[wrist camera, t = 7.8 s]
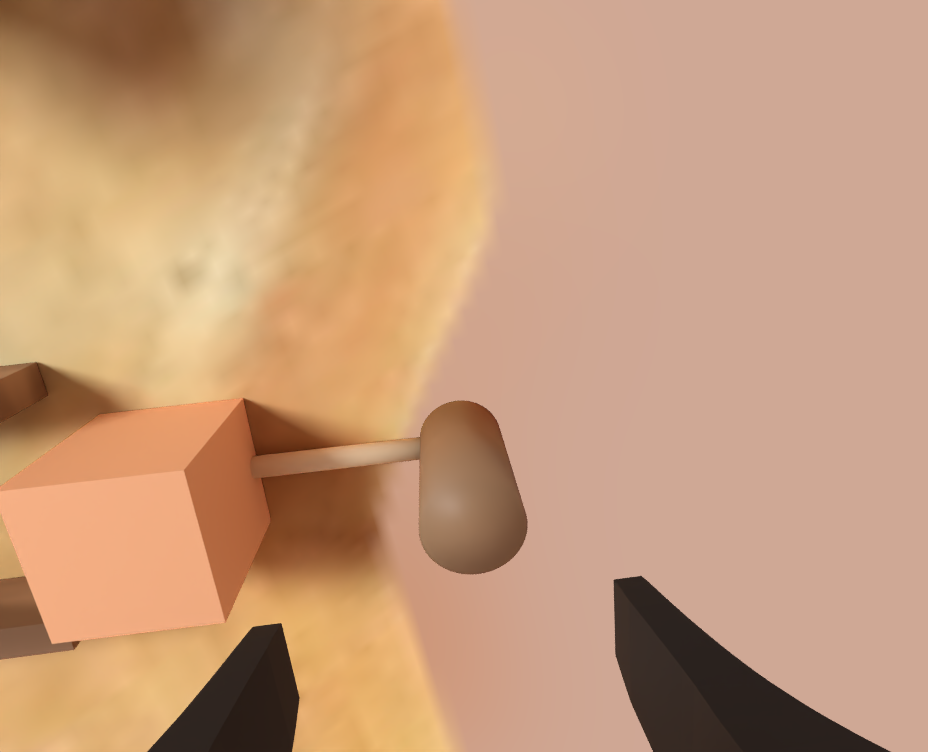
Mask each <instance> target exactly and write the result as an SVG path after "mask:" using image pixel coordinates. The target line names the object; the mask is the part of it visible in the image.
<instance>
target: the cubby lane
mask: <svg viewBox="0 0 928 752" xmlns="http://www.w3.org/2000/svg"><path fill="white" fill-rule="evenodd" d="M46 396H48V394H47V391H46V388H45V385H44V383H43V380H42V377H41V374H40V371H39V368H38V365H37V363H36V362H34V363H26V364H17V365H9V366H0V423H1V422H3V421H4V420H6V419H8V418H9V417H11V416H13V415H15V414H16V413H18V412H20V411H22V410H23V409H25V408H27V407H29V406H30V405H32V404H34V403H35V402H37V401H39V400H41V399H42V398H44V397H46ZM80 641H81V640H80ZM80 641H72V642H64V643H56V644H52V643H51V640H50V638H49V635H48V632H47V630H46V627H45V625H44V622H43V620H42V617H41V615H40V612H39V610H38V607H37V605H36V602H35V599H34V597H33V594H32V592H31V589H30V587H29V584H28V582H27V579H26V577H18V578H11V579H3V580H0V660H1V659H8V658H16V657H23V656H31V655H38V654H46V653H53V652H61V651H68V650H74V649H75V648H76V647H77V645H78V644H79V642H80Z"/></svg>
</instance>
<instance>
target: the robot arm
mask: <svg viewBox="0 0 928 752" xmlns="http://www.w3.org/2000/svg"><path fill="white" fill-rule="evenodd" d="M614 611H615V652H616V658H617V661H618V664H619V667H620V670H621V673H622V677H623V680H624V683H625V686H626V689H627V692H628V695H629V698H630V700H631V703H632V706H633V708H634V710H635V712H636V715H637V717H638V719H639V721H640V723H641V726H642V728H643V730H644V732H645V734H646V737H647V739H648V741H649V743H650V746H651V748H652V750H653V752H890V751H888V750H886V749H884V748H882V747H880V746H878V745H876V744H874V743H872V742H871V741H868V740H866V739H865V738H863V737H861V736H859V735H857V734H855V733H853V732H852V731H850V730H848V729H846V728H845V727H843V726H841V725H839V724H837V723H836V722H834V721H832V720H830V719H828V718H827V717H825V716H823V715H821V714H820V713H818V712H816V711H815V710H813V709H811V708H810V707H808V706H806V705H805V704H803V703H802V702H800V701H798V700H797V699H795V698H794V697H792V696H791V695H789V694H788V693H786V692H785V691H783V690H782V689H780V688H778V687H777V686H775V685H774V684H772V683H771V682H769V681H768V680H766V679H765V678H764V677H762V676H761V675H759V674H758V673H756V672H755V671H754V670H752V669H751V668H750V667H748V666H747V665H746V664H744V663H743V662H742V661H740V660H739V659H738V658H736V657H735V656H734V655H732V654H731V653H730V652H729V651H727V650H726V649H725V648H724V647H722V646H721V645H720V644H718V643H717V642H716V641H715V640H714V639H713V638H711V637H710V636H709V635H708V634H707V633H705V632H704V631H703V630H702V629H701V628H699V627H698V626H697V625H696V624H695V623H693V622H692V621H691V620H690V619H689V618H687V617H686V616H685V615H684V614H683V613H682V612H681V611H680V610H679V609H677V608H676V607H675V606H674V605H673V604H672V603H671V602H670V601H669V600H668V599H666V598H665V597H664V596H663V595H662V594H661V593H660V592H658V590H657V589H655V588H654V587H653V586H652V585H651V584H650V583H649V582H648V581H647V580H646V579H644V578H643V577H642V576H638V577H630V578H623V579H616V580H614ZM298 705H299V694H298V690H297V686H296V682H295V677H294V673H293V669H292V665H291V661H290V657H289V653H288V649H287V644H286V640H285V636H284V632H283V628H282V624H281V623H279V624H271V625H264V626H256V627H252V628H251V630H250V631H249V632H248V633H247V634H246V636H245V637H244V638H243V639H242V641H241V642H240V643H239V644H238V645H237V647H236V648H235V649H234V650H233V652H232V653H231V654H230V655H229V657H228V658H227V659H226V661H225V662H224V663H223V664H222V666H221V667H220V668H219V669H218V671H217V672H216V673H215V674H214V675H213V677H212V678H211V679H210V680H209V682H208V683H207V684H206V685H205V686H204V688H203V689H202V690H201V691H200V692H199V694H198V695H197V696H196V697H195V698H194V700H193V701H192V702H191V703H190V704H189V706H188V707H187V708H186V709H185V710H184V712H183V713H182V714H181V715H180V716H179V717H178V718H177V720H176V721H175V722H174V723H173V724H172V725H171V726H170V727H169V728H168V730H167V731H166V732H165V733H164V734H163V735H162V736H161V737H160V738H159V740H158V741H157V742H156V743H155V744H154V745H153V746H152V747H151V748H150V749H149V751H148V752H292V748H293V742H294V735H295V728H296V721H297V713H298Z"/></svg>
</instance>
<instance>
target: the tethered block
mask: <svg viewBox="0 0 928 752" xmlns="http://www.w3.org/2000/svg"><path fill="white" fill-rule="evenodd" d="M419 459H420V477H419V480H420V481H419V536H420V540H421V543H422V546H423V548H424V550H425V551H426V553H427V554H428V555H429V557H430V558H431V559H432V560H433V561H434V562H436V563H437V564H438V565H440V566H442V567H443V568H445V569H448V570H450V571H453V572H456V573H461V574H480V573H485V572H489V571H492V570H495V569H497V568H499V567H501V566H502V565H504V564H506V563H507V562H508V561H510V560H511V559H512V558H513V557H514V556H515V555H516V554H517V552H518V551H519V550H520V548H521V546H522V545H523V542H524V540H525V537H526V533H527V516H526V513H525V509H524V506H523V503H522V500H521V496H520V493H519V490H518V487H517V483H516V480H515V477H514V474H513V470H512V467H511V464H510V461H509V457H508V454H507V451H506V448H505V444H504V441H503V438H502V435H501V431H500V428H499V425H498V423H497V420H496V419H495V417H494V416H493V415H492V414H491V413H490V411H488V410H487V409H486V408H484V407H483V406H481V405H479V404H477V403H474V402H470V401H453V402H449V403H446V404H444V405H441V406H440V407H438V408H436V409H435V410H434V411H433V412H432V413H431V414H430V415H429V416H428V417H427V419H426V420H425V422H424V423H423V426H422V428H421V433H420V437H417V438H408V439H399V440H391V441H382V442H373V443H364V444H355V445H347V446H338V447H329V448H320V449H312V450H303V451H294V452H285V453H277V454H268V455H259V456H256V453H255V449H254V444H253V440H252V436H251V431H250V427H249V422H248V418H247V414H246V409H245V405H244V400H243V398H240V399H231V400H222V401H213V402H204V403H195V404H186V405H177V406H168V407H159V408H150V409H141V410H132V411H123V412H114V413H105V414H99V415H98V416H96V417H95V418H94V419H92V420H91V421H90V422H88V423H87V424H85V425H84V426H83V427H81V428H80V429H79V430H77V431H76V432H74V433H73V434H72V435H70V436H69V437H68V438H66V439H65V440H63V441H62V442H61V443H59V444H58V445H57V446H55V447H54V448H52V449H51V450H50V451H48V452H47V453H45V454H44V455H43V456H41V457H40V458H39V459H37V460H36V461H34V462H33V463H32V464H30V465H29V466H28V467H26V468H25V469H23V470H22V471H21V472H19V473H18V474H17V475H15V476H14V477H12V478H11V479H10V480H8V481H7V482H6V483H4V484H3V485H1V486H0V513H1V516H2V518H3V521H4V523H5V526H6V528H7V531H8V533H9V536H10V538H11V541H12V544H13V546H14V549H15V551H16V554H17V556H18V559H19V561H20V564H21V566H22V569H23V571H24V574H25V577H26V579H27V582H28V584H29V587H30V589H31V592H32V594H33V597H34V599H35V602H36V605H37V607H38V610H39V612H40V615H41V617H42V620H43V622H44V625H45V627H46V630H47V632H48V635H49V638H50V640H51V643H52V644H56V643H64V642H72V641H80V640H89V639H97V638H105V637H113V636H121V635H129V634H137V633H146V632H154V631H162V630H170V629H178V628H186V627H194V626H203V625H211V624H219V623H226V620H227V618H228V616H229V614H230V611H231V609H232V607H233V605H234V602H235V600H236V598H237V596H238V593H239V591H240V589H241V587H242V584H243V582H244V580H245V578H246V575H247V573H248V571H249V569H250V566H251V564H252V562H253V560H254V557H255V555H256V553H257V551H258V549H259V546H260V544H261V542H262V540H263V537H264V535H265V533H266V531H267V528H268V526H269V524H270V522H271V519H270V514H269V510H268V506H267V501H266V497H265V493H264V488H263V484H262V479H261V478H263V477H272V476H281V475H289V474H298V473H307V472H315V471H324V470H333V469H341V468H350V467H359V466H367V465H376V464H385V463H393V462H402V461H411V460H419Z"/></svg>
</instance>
